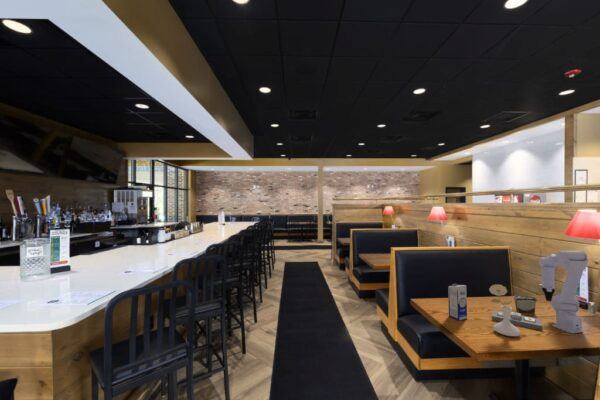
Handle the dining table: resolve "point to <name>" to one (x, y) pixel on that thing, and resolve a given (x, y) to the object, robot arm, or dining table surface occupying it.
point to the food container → (525, 304)
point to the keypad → (519, 321)
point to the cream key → (529, 319)
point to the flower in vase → (505, 325)
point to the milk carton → (457, 302)
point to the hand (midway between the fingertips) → (548, 300)
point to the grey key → (516, 315)
